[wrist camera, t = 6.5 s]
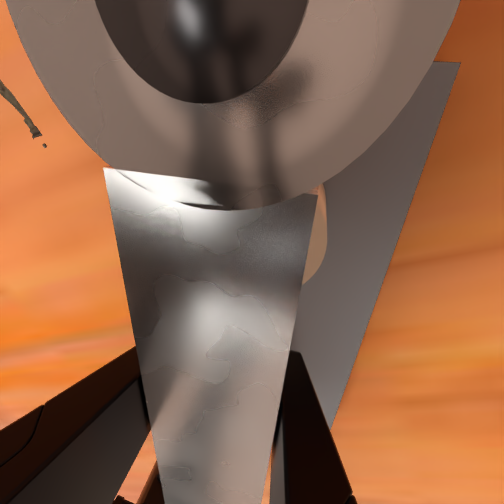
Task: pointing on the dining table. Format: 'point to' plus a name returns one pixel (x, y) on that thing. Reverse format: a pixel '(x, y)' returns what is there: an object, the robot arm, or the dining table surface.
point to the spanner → (223, 186)
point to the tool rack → (362, 238)
